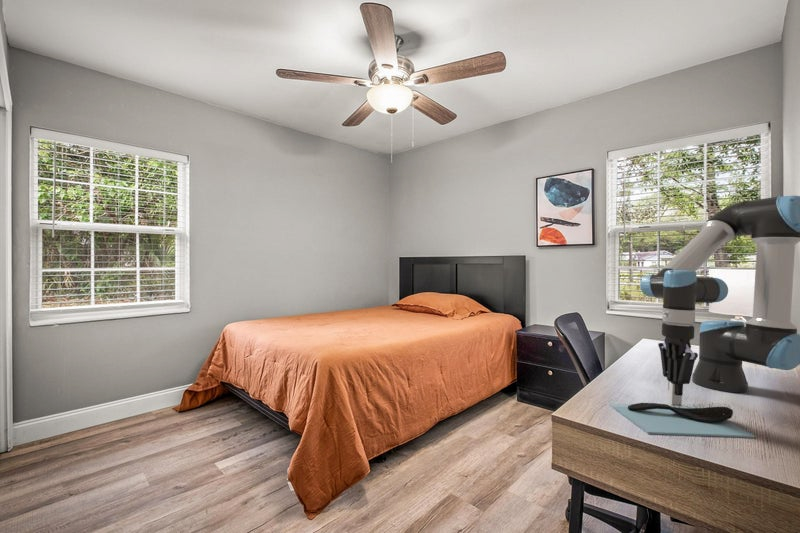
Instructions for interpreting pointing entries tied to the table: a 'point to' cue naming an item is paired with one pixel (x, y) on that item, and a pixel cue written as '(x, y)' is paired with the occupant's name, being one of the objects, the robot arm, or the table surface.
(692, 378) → the robot arm
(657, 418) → the plate
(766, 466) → the table surface
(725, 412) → the hairbrush
